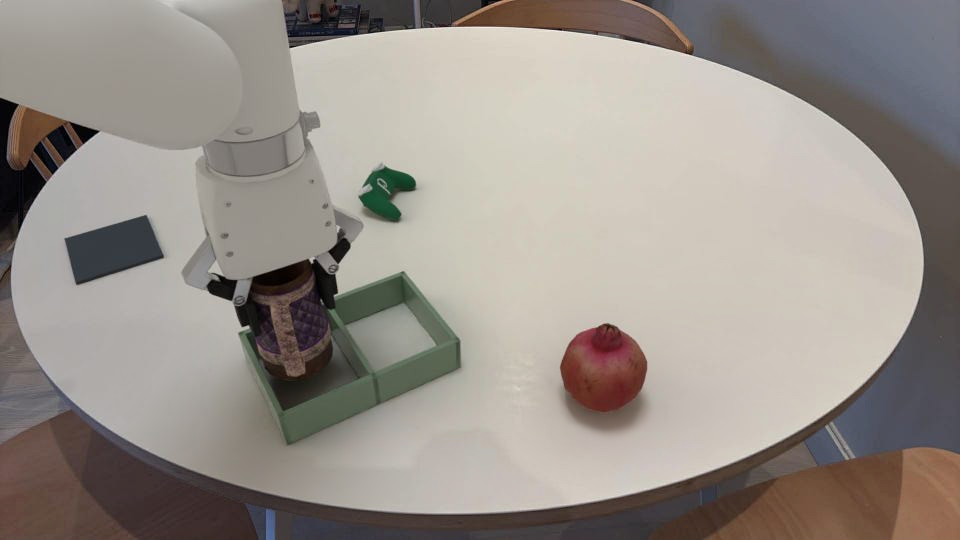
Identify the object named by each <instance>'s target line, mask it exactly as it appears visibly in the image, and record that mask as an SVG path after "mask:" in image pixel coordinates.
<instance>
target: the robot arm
mask: <svg viewBox="0 0 960 540" xmlns="http://www.w3.org/2000/svg"><path fill="white" fill-rule="evenodd" d="M292 61H293V60H292V55H291V49H290V42H289V37H288V30H287V23H286V17H285V11H284V4H283V1H282V0H0V99H3V100H6V101H9V102H12V103H14V104H17V105H20V106H22V107H25V108H28V109H31V110H34V111H37V112H40V113H42V114H45V115H48V116H51V117H55V118H57V119H60V120H64V121H67V122H70V123H73V124H76V125H79V126H82V127H86V128H88V129H91V130H94V131H99V132H101V133H105V134H109V135H111V136H115V137H119V138H121V139H125V140H127V141H130V142H134V143H137V144H141V145H145V146H147V147H152V148H156V149H160V150H167V151H186V150H193V149H197V148H200V147H201V150H202V153H203V155H201V156H199V157H198V158H197V160H196V162H195V186H196V193H197V199H198V200H197V201H198V205H199V210H200V215H201V220H202V225H203V230H204V233H205V238H204V240H203V241H202V242H201V244H200V245H199V246H198V248H197V249H196V250H195V251H194V253H193V255H192V256H191V257H190V258H189V260H188V261H187V262H186V264H185V265H184V267H183V268H182V269H181V271H180V273H181V274H180V275H181V276H182V279H183V281H184V283H185V284H186V285H188V286H190V287H193V288H195V289H198V290H201V291H206V292H208V293H209V294H210V295H212V296H214V297H217V298H220V299H223V300H226V301H230V302H231V303H232V304H233V305H234V310H235V314H236V317H237V320H238V322H239V324H240V327H241V328H246V327H249V328H250V329H251V331H252V333H253V335H254V337H258V336H260V334H262V330H261V326H260V322H259V319H258V315H257V311H256V307H255V303H254V301H253V299H252V297H251V296H250V294H249V290H250V286H251V282H252V279H253V276H257V275H260V274H263V273H266V272H269V271H273V270H276V269H279V268H282V267H285V266H288V265H291V264H294V263H297V262H300V261H303V260H306V259H309V260H310V259H312V258H313V259H312V262H311V264H312V266H313V269H314V272H315V276H316V278H315V279H316V283H317V287H318V291H319V295H320V299H321V302H323V303H324V305H325V306H326V308H327V309H330V310H332V309H335V308H336V306H335V300H334V297H335V296H337V295H339V288H338V282H337V273H338V272H339V271H340V263H341V262H342V260H343V259H344V258H345V257H346V255H347V253H348V252H349V251H350V250H351V247H352V243H354V242H355V241H356V239H357V238H358V236H359V235H360V234H361V232H362V230H363V229H364V223H363V221H361V219H360V218H359V217H358V216H357V215H355V214H353V213H351V212H349V211H347V210H345V209H343V208H341V207H339V206H337V205H335V204H333V203H332V200H331V195H330V193H329V189H328V185H327V181H326V177H325V175H324V172H323V168H322V166H321V163H320V160H319V158H318V155H317V153H316V150H315V148H314V145H313V144H312V142H311V141H310V139H309V138H308V136H309V133H311V132H312V131H313V130H316V129H320V128H321V120H320V117H319V115H318V112H317V111H315V110H314V111H310V112H307V111H302V110H301V109H300V105H299V104H300V103H299V99H298V93H297V92H298V91H297V87H296V80H295V74H294V73H295V72H294V68H293V62H292ZM337 226H338V227H339V229H338V228H337ZM215 262H216V263H217V264H218V265H217V266H218V267H219V269H220V271H221V273H222V275H221V274H219V273H217V272H209V270H210V269H211V267H212V266H213V265H214V263H215Z"/></svg>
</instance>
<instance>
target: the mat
mask: <svg viewBox="0 0 960 540" xmlns="http://www.w3.org/2000/svg"><path fill="white" fill-rule="evenodd" d="M64 243H65V246H66V251H67V255H68V258H69V262H70V266H71V271H72V275H73V278H74V283H75V285H80V284H84V283H86V282H89V281H94V280H96V279H100V278H103V277H106V276H110V275H112V274H115V273H118V272H121V271H125V270H127V269H131V268H135V267H137V266H140V265H144V264H147V263H150V262H153V261H156V260H160V259H163V258H165V256H164V254H163V252H162V249H161V246H160V244H159V241H158V239H157V236H156V234H155V232H154V229H153V227H152V225H151V222H150V219H149V218H148V214H144V215H140V216H137V217H134V218H131V219H130V218H129V219H127V220H123V221H120V222H117V223H113V224H109V225H107V226H103V227H99V228H95V229H92V230H89V231H86V232H82V233H78V234H74V235H71V236H68V237H65V238H64Z"/></svg>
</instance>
